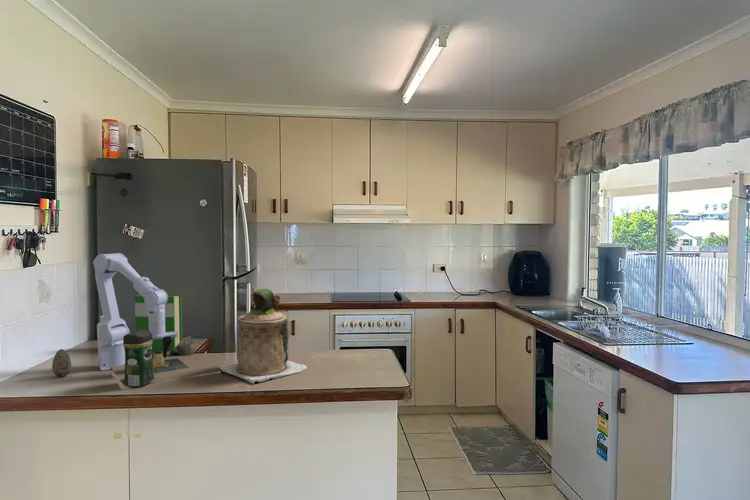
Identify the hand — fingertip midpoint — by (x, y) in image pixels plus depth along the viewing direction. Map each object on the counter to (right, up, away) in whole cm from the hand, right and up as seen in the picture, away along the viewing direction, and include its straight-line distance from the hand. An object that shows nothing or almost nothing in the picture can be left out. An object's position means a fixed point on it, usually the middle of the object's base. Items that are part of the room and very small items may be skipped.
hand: (157, 358), depth 194 cm
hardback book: (-14, -3, +36) cm, 39 cm away
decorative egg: (-32, -6, -6) cm, 33 cm away
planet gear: (0, -4, 0) cm, 4 cm away
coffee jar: (0, -6, -15) cm, 16 cm away
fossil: (0, -4, +24) cm, 24 cm away
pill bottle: (-37, -4, +35) cm, 51 cm away
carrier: (0, -5, +4) cm, 6 cm away
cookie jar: (+40, -5, 0) cm, 40 cm away
